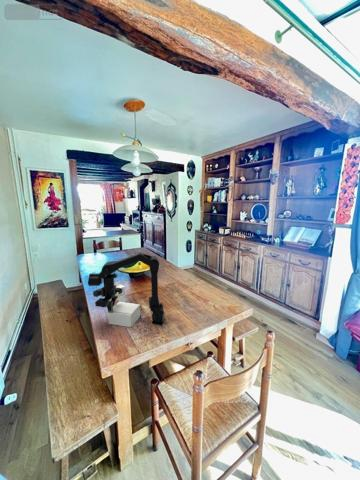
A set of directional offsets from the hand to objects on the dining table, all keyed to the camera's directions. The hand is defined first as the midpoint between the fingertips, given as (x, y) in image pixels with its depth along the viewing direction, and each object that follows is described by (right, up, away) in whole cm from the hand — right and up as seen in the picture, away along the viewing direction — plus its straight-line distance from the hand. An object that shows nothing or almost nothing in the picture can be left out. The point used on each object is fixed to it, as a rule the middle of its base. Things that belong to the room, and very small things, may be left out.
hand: (110, 310), depth 116 cm
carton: (+7, -8, +7) cm, 12 cm away
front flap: (+5, -9, +1) cm, 10 cm away
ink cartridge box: (-4, -4, +27) cm, 28 cm away
